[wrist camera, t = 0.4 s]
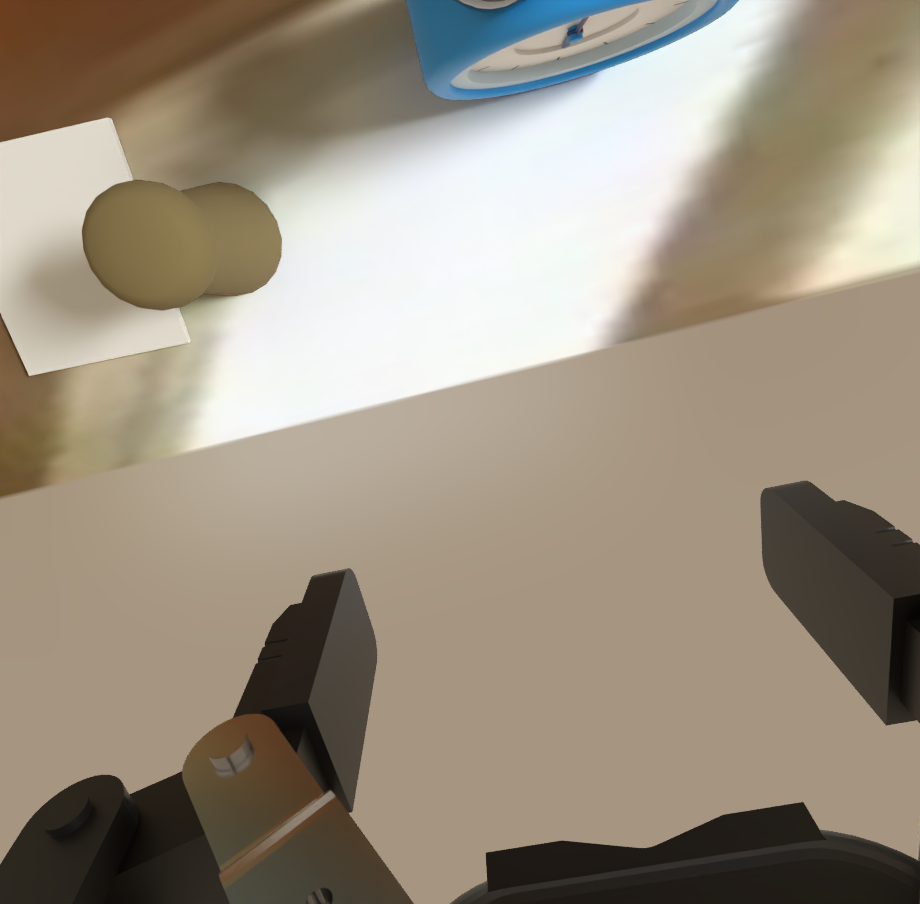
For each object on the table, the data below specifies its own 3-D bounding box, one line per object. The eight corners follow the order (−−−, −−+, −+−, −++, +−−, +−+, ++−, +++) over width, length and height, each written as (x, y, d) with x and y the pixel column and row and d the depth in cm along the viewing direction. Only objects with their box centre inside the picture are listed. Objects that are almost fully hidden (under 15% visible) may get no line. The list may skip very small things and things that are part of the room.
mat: (-65, 159, 33) (-71, 158, 33) (111, 118, 32) (107, 117, 32) (33, 374, 37) (29, 376, 37) (191, 341, 36) (188, 343, 36)
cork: (184, 297, 36) (75, 328, 25) (163, 184, 33) (34, 167, 23) (288, 293, 36) (221, 323, 25) (274, 180, 33) (194, 162, 23)
